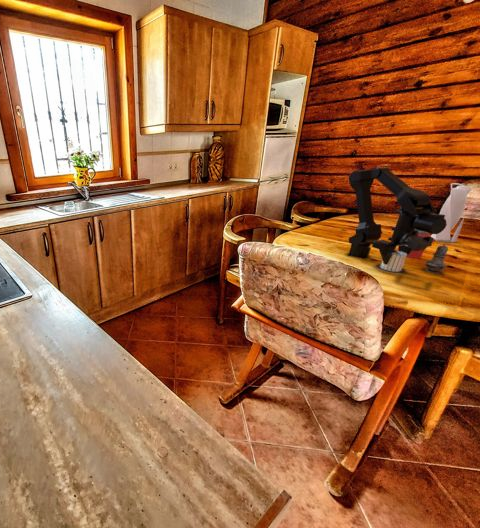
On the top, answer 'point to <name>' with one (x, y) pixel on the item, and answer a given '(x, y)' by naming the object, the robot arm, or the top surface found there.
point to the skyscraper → (453, 213)
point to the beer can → (419, 253)
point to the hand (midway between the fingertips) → (392, 263)
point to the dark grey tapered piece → (437, 260)
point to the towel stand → (389, 271)
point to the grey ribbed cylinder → (395, 262)
